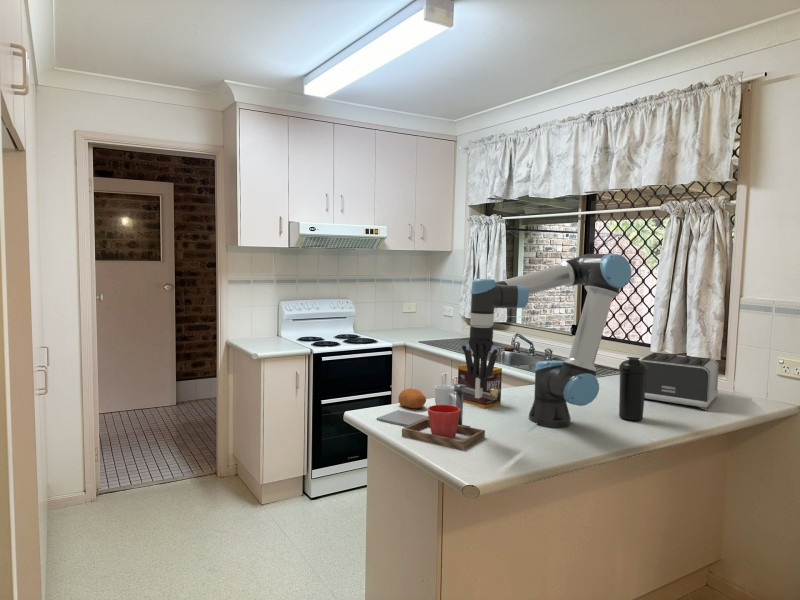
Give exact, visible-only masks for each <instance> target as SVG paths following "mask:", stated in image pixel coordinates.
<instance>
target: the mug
mask: <svg viewBox="0 0 800 600" xmlns="http://www.w3.org/2000/svg"><path fill="white" fill-rule="evenodd" d="M455 395H456V392H455V391H454V385H449V384H438V385H435V386H434V401H435V403H434V404H435V405H452V406H456V396H455Z"/></svg>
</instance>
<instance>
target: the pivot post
mask: <svg viewBox="0 0 800 600" xmlns="http://www.w3.org/2000/svg"><path fill="white" fill-rule="evenodd" d="M455 395H456V396H455V398H456V407H459V408H460V416H459V421H458V425H461V426H466V427H471V425H466V424H463V408H464V406H463V405H464V402H463V392H455Z"/></svg>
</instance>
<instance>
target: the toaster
mask: <svg viewBox="0 0 800 600" xmlns="http://www.w3.org/2000/svg"><path fill="white" fill-rule="evenodd" d="M639 360H640V361H641V362H643V363H644V364H645V365H646V366H647V368H648V372H647V374H646V386H645V398H644V399H649V400H654V401H661V402H666V403H667V402H668V403H673V404H680V405H686V406H694V407H699V408H701V409H708V407H709V406H710V405H711V403H712V402H713V400H715V398H717V397H716V396H718V394H719V390H718V382H719V367H720V366H719V365H720V364H719V362H718V361H717V360H716V359H714V358H710V357H709V358H708V357H699V356H691V355H690V356H689V355H679V354H673V353H672V354H671V353H664V352H653V353H652V352H651V353H649V354H647V356H645V357H642V358H640V359H639ZM699 408H698V409H699ZM701 409H700V410H701Z"/></svg>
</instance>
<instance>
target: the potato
mask: <svg viewBox="0 0 800 600" xmlns="http://www.w3.org/2000/svg"><path fill="white" fill-rule="evenodd" d="M426 402H427V397H426V396H425V395H424V393H422V391H421V390H419V389H416V388H409V387H408V388H404V389H403V390H402V391H401V392H400V393H399V394H398V403H399V405H400V406H401V407H406V408H409V409H413V410H414V409H420V408H422V407H424V405H425V404H426Z"/></svg>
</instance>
